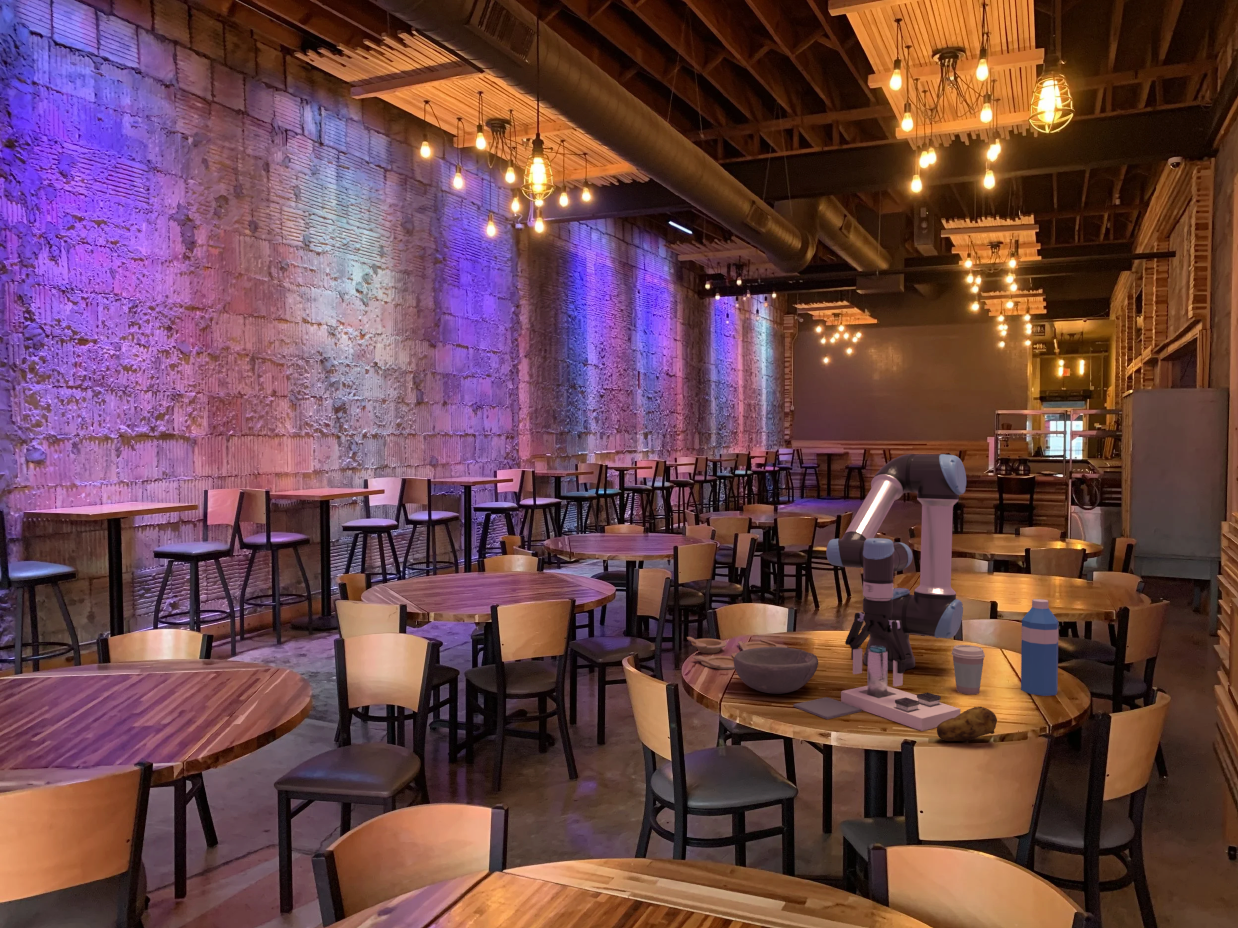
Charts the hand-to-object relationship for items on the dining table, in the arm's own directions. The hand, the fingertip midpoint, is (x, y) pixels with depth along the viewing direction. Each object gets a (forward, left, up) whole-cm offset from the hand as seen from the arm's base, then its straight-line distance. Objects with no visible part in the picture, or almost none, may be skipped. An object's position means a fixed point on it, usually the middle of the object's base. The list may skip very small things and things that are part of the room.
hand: (877, 679), depth 225 cm
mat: (-4, -14, -7) cm, 16 cm away
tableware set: (-58, +2, -7) cm, 59 cm away
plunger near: (+13, -4, -5) cm, 14 cm away
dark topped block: (+13, +4, -5) cm, 15 cm away
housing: (+7, 0, -7) cm, 10 cm away
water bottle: (+15, +47, -7) cm, 50 cm away
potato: (+30, -4, -7) cm, 31 cm away
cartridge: (0, 0, -7) cm, 7 cm away
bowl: (-24, -14, -7) cm, 29 cm away
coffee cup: (+5, +30, -7) cm, 31 cm away
